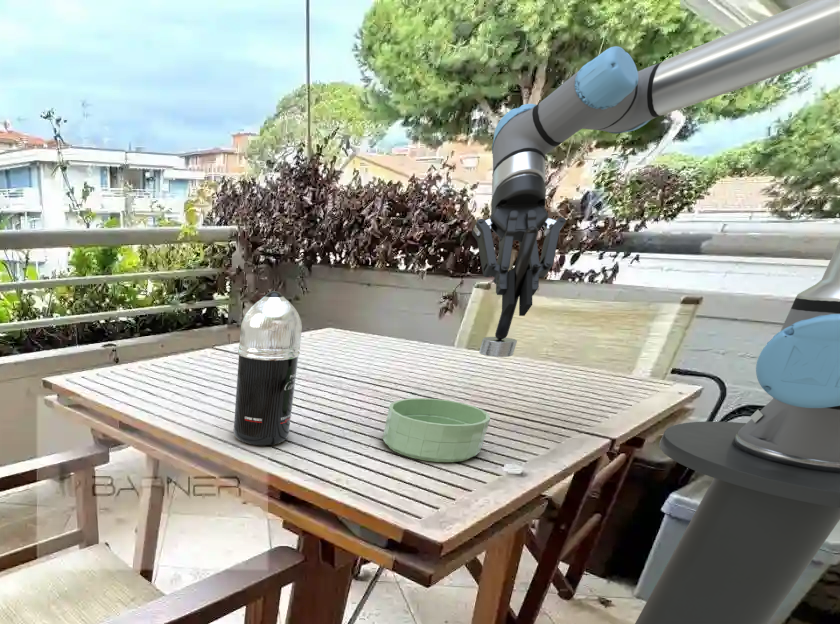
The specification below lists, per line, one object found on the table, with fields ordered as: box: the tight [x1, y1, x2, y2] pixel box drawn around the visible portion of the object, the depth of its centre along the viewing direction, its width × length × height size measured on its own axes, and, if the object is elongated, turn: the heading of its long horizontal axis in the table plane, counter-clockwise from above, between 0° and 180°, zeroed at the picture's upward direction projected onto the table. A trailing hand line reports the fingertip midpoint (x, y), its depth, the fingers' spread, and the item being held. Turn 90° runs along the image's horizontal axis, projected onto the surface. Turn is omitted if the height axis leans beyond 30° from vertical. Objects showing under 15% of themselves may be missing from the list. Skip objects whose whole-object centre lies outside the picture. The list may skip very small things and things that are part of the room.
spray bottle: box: [233, 290, 303, 447], centre depth 94 cm, size 10×10×25 cm
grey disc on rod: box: [478, 227, 539, 358], centre depth 89 cm, size 5×5×19 cm
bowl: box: [382, 397, 491, 463], centre depth 93 cm, size 15×15×6 cm
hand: (516, 309), depth 87 cm, fingers closed on grey disc on rod, 2 cm apart
